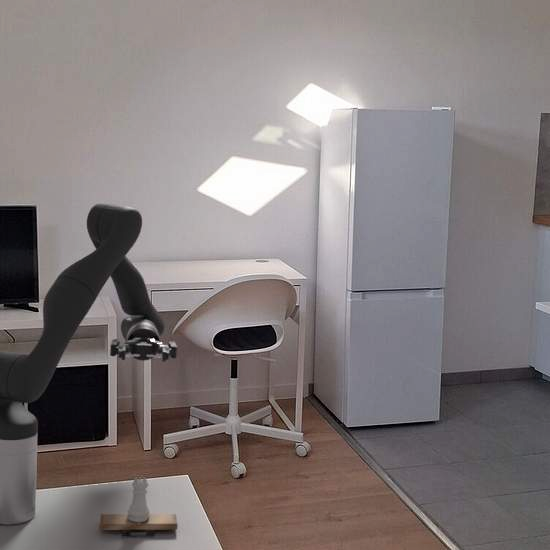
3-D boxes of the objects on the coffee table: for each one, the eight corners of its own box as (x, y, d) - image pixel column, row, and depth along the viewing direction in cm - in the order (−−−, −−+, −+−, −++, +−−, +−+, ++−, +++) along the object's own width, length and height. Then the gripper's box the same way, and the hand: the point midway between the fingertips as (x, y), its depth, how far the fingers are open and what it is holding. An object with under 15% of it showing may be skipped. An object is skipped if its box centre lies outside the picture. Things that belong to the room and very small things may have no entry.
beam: (99, 529, 162) (99, 523, 162) (100, 520, 167) (100, 514, 167) (177, 529, 165) (177, 523, 165) (175, 519, 170) (176, 514, 169)
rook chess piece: (150, 514, 168) (153, 476, 167) (148, 524, 164) (150, 484, 163) (128, 513, 168) (130, 475, 167) (125, 522, 164) (127, 483, 163)
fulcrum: (122, 537, 162) (122, 533, 162) (122, 522, 169) (123, 519, 169) (154, 536, 163) (154, 533, 163) (153, 522, 170) (153, 518, 170)
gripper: (112, 323, 191) (110, 337, 175) (175, 325, 193) (179, 339, 178) (110, 355, 192) (108, 372, 176) (173, 357, 194) (177, 374, 178)
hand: (144, 356), depth 177 cm, fingers open, 8 cm apart
